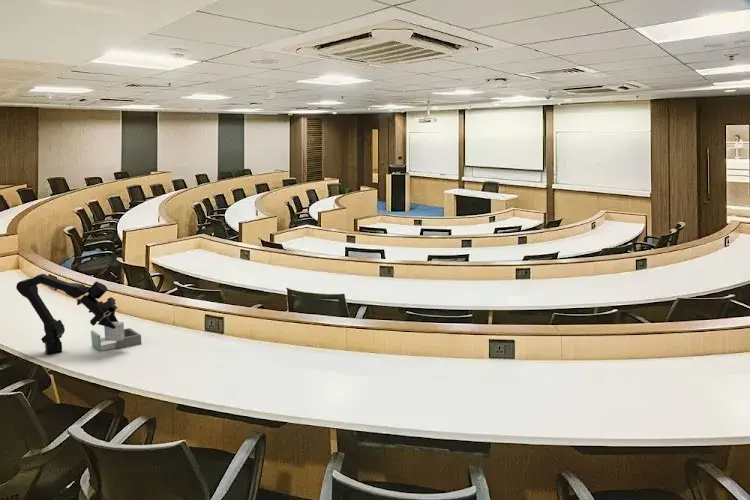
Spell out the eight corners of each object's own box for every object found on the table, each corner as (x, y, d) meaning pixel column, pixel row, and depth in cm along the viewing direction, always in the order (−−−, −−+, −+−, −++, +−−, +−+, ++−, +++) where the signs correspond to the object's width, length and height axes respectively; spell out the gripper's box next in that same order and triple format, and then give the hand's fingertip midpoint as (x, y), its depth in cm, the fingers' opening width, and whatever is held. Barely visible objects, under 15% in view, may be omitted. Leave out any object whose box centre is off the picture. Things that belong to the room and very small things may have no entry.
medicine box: (124, 338, 278) (123, 321, 277) (121, 341, 274) (120, 324, 272) (108, 338, 278) (107, 321, 276) (104, 341, 273) (103, 324, 272)
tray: (99, 351, 276) (98, 336, 275) (91, 345, 286) (90, 330, 284) (125, 345, 285) (124, 330, 283) (117, 339, 294) (115, 325, 293)
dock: (117, 349, 280) (116, 339, 280) (107, 341, 292) (106, 332, 291) (141, 344, 288) (140, 334, 288) (130, 336, 300) (130, 327, 299)
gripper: (95, 298, 263) (120, 321, 265) (112, 289, 281) (135, 310, 283) (79, 314, 264) (104, 336, 266) (97, 304, 282) (120, 325, 284)
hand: (117, 326), depth 275 cm, fingers closed on medicine box, 4 cm apart
